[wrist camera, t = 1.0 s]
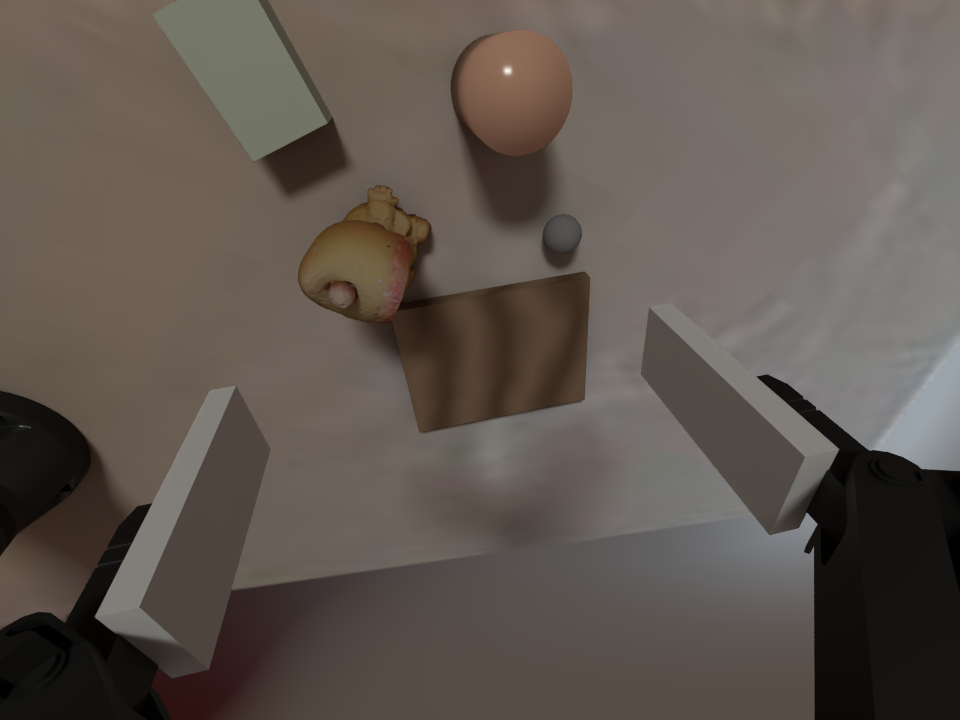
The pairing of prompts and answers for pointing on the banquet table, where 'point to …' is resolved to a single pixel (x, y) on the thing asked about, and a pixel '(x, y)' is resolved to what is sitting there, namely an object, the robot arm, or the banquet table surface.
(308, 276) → the figurine
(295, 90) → the block
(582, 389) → the board
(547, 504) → the banquet table surface
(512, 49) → the brown rounded cylinder
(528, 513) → the banquet table surface
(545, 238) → the ball
